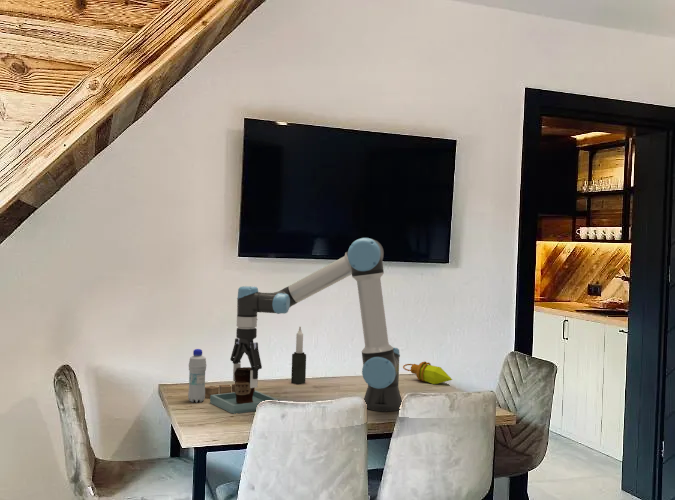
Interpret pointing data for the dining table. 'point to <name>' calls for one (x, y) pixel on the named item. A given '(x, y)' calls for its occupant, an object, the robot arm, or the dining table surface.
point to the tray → (230, 405)
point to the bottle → (197, 376)
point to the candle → (298, 361)
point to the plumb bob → (429, 373)
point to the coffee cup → (243, 385)
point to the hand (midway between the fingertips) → (244, 384)
